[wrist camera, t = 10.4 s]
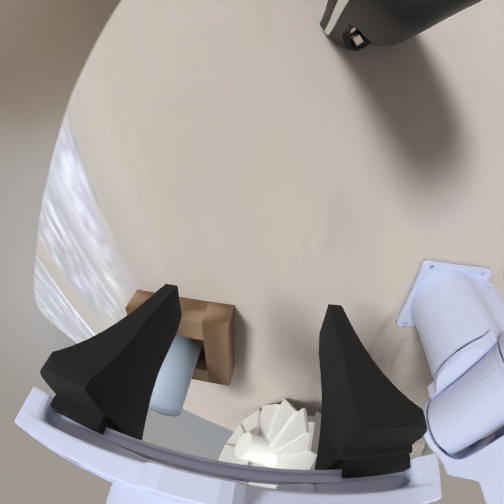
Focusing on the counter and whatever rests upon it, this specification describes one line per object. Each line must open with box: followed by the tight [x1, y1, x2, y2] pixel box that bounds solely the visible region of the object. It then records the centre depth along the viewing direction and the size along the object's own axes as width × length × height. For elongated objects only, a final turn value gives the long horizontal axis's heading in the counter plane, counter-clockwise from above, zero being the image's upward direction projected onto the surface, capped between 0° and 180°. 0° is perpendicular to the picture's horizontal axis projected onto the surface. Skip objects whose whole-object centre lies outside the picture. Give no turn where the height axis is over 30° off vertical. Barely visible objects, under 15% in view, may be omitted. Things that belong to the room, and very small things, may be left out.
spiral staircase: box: [218, 399, 321, 489], centre depth 32 cm, size 18×18×25 cm
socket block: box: [125, 290, 234, 386], centre depth 29 cm, size 11×11×3 cm
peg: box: [149, 335, 203, 416], centre depth 26 cm, size 4×4×10 cm
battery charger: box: [320, 0, 481, 51], centre depth 8 cm, size 7×4×11 cm, turn 133°
